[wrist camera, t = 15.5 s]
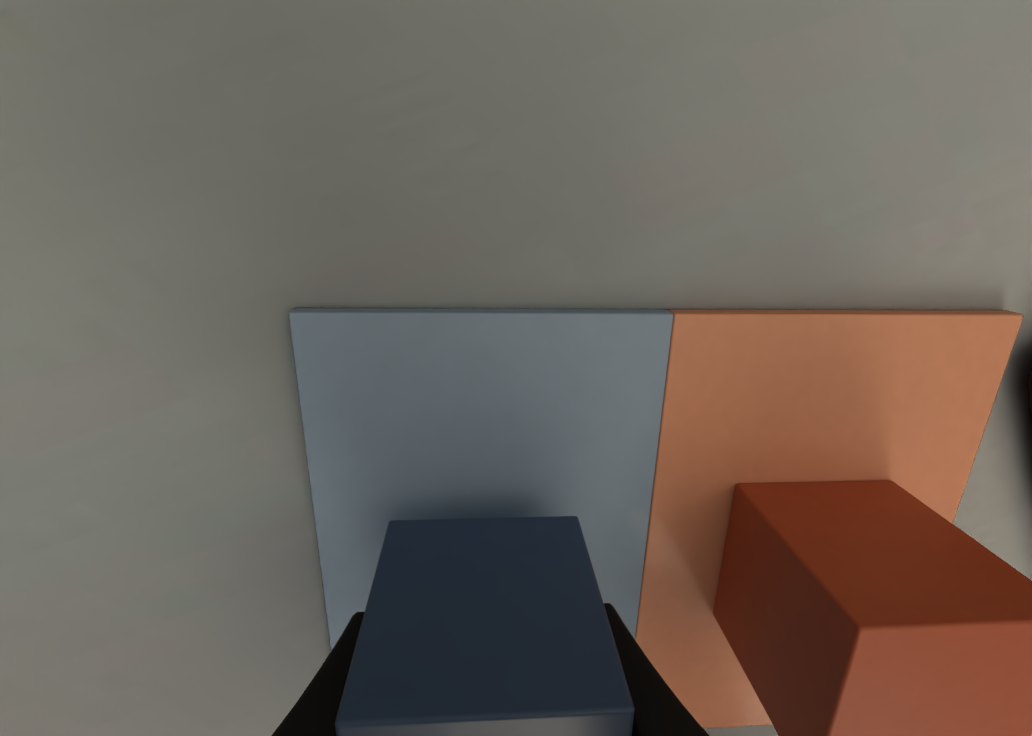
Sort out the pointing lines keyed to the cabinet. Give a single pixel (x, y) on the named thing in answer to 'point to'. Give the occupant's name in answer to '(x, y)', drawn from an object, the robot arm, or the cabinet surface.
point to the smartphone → (1030, 388)
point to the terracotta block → (872, 615)
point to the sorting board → (631, 439)
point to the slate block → (485, 635)
